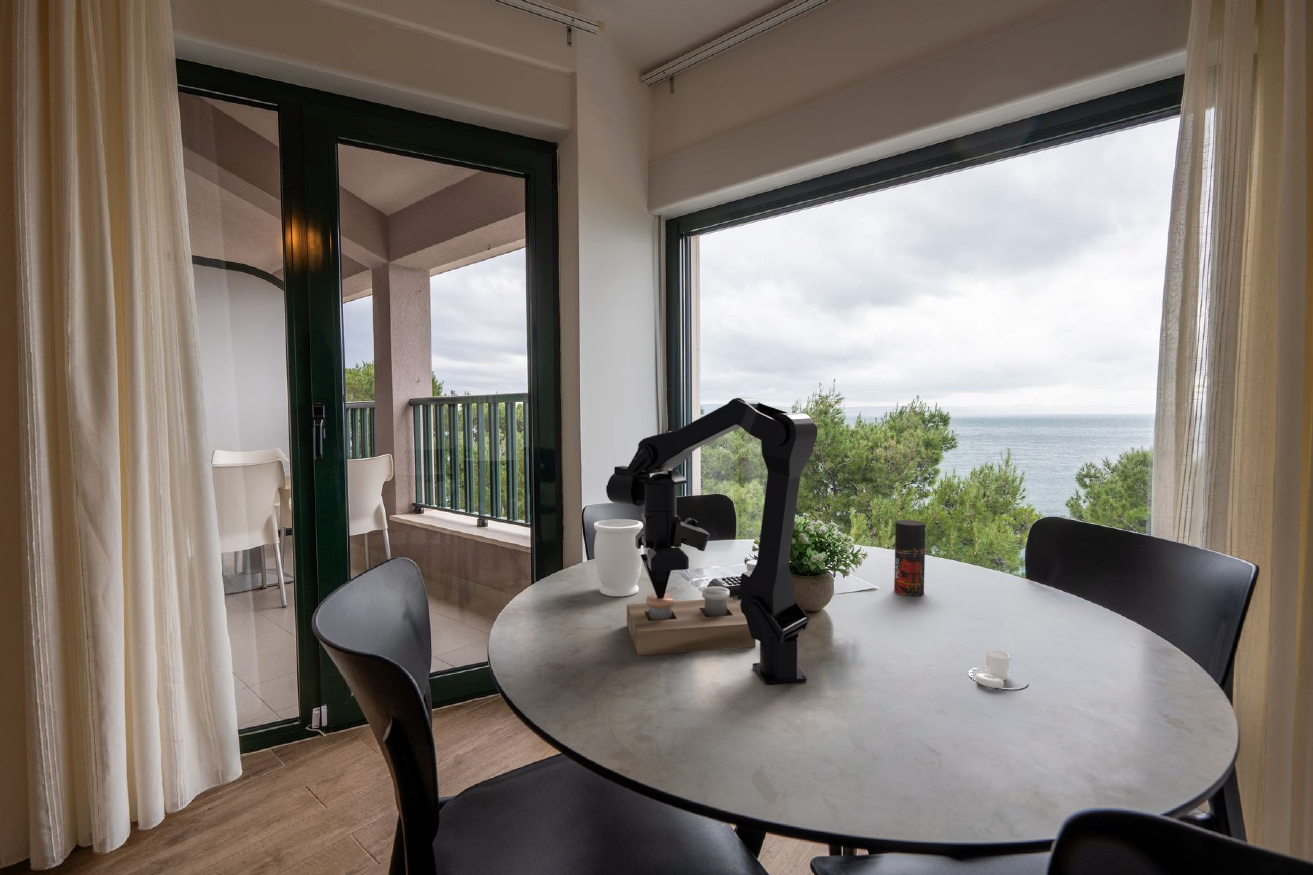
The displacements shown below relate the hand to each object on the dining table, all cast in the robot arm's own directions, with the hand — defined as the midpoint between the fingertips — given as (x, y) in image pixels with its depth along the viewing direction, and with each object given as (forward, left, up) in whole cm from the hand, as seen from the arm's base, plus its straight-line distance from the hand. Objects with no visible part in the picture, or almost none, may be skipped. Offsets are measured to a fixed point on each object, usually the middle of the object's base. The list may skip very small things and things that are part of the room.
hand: (660, 597), depth 113 cm
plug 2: (0, -10, -3) cm, 11 cm away
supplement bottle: (+10, -21, -7) cm, 24 cm away
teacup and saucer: (-24, -44, -8) cm, 50 cm away
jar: (+28, +4, -7) cm, 29 cm away
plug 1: (0, 0, -4) cm, 4 cm away
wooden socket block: (0, -5, -7) cm, 9 cm away
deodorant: (+16, -57, -7) cm, 60 cm away
